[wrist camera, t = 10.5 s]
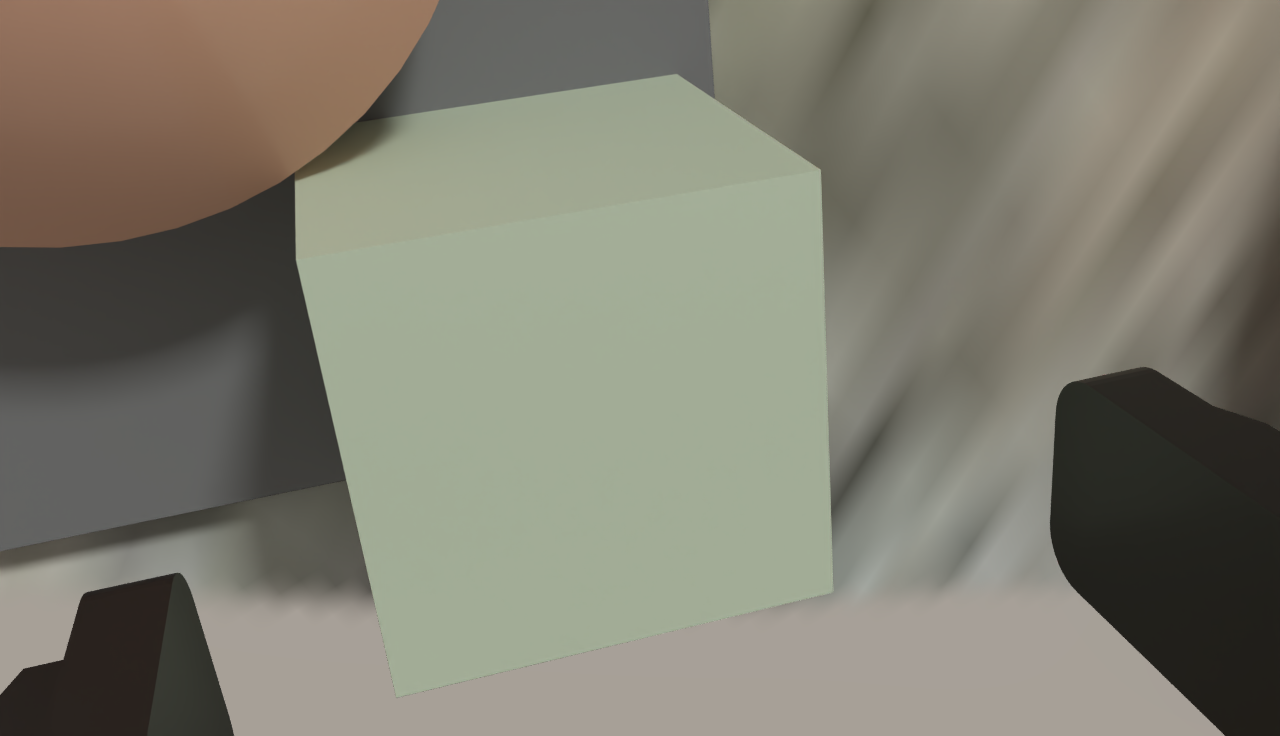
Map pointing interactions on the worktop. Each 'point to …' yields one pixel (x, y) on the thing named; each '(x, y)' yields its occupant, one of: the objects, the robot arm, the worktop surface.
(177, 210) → the peach domed disc
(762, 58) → the worktop surface
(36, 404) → the mat
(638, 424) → the cube
